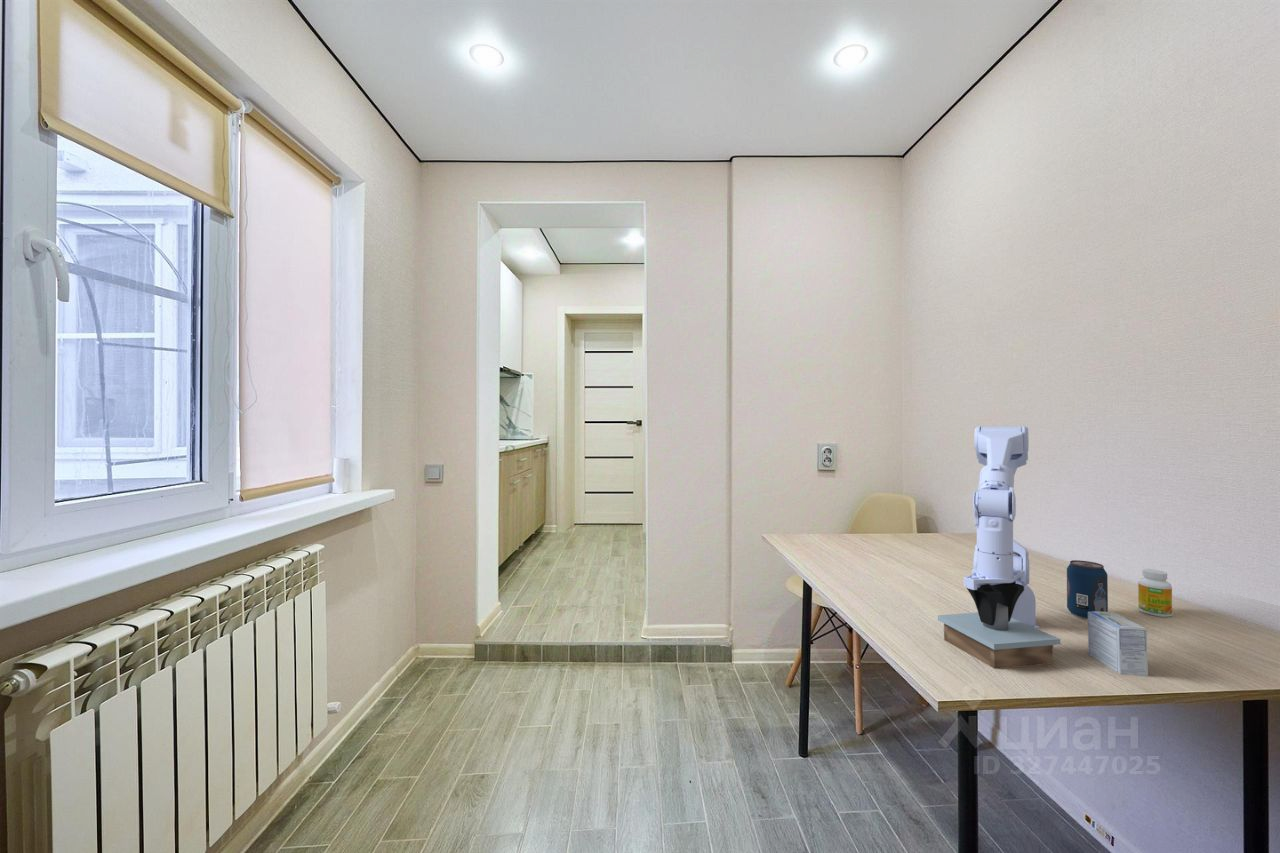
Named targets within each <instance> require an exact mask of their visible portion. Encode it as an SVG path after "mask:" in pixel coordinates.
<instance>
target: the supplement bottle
mask: <svg viewBox="0 0 1280 853" xmlns="http://www.w3.org/2000/svg"><path fill="white" fill-rule="evenodd" d="M1141 575H1142V576H1143V577H1141V578H1139V579H1138V583H1137V584H1138V586H1137V587H1138V590H1137V591H1138V594H1137V595H1138V597H1137V598H1138V600H1137V601H1138V602H1137V603H1138V610H1139V611H1140V612H1142V613H1143V614H1144V613H1145V614H1146V615H1147V614H1148V615H1151V616H1154V617H1161V618H1162V617H1163V618H1168V617H1172V615H1173V586H1172V584H1171V583H1170V582H1169V581H1167V580H1168V572H1166V571H1163V570H1159V569H1152V568H1143V569H1142V572H1141Z"/></svg>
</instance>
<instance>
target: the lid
mask: <svg viewBox="0 0 1280 853" xmlns="http://www.w3.org/2000/svg"><path fill="white" fill-rule="evenodd" d="M937 621H938V622H940V623H943V625H944V624H946V625H948V626H950V627H952V628H954V629H956V630H958V631H959V632H961V633H963V634H965V635H967V636H969V637H971V638H973V639H975V640H976V641H978V642H980V643H982V644H984V645H986V646H988V647H990V648H992V649H993V650H998V649H1011V648H1023V647H1035V646H1048V645H1053V646H1058V645H1061V638H1059V637H1057V636H1055V635H1052V634H1050V633H1048V632H1045V631H1043V630H1041V629H1040V628H1034V627H1032V626H1029V625H1027V624H1025V623H1023V622H1020V621H1018V620H1016V619H1013V618H1011V620H1010V622H1008V607H1007V606H1005V605H1003V604H999V603H997V607H996V617H995V623H994V625H992V626H991V625H988V624H985V623H983V622H981V620H980V617H979V613H978V611H977V612H968V613H967V612H964V613H951V614H950V613H949V614H938V615H937Z"/></svg>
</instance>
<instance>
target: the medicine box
mask: <svg viewBox="0 0 1280 853" xmlns="http://www.w3.org/2000/svg"><path fill="white" fill-rule="evenodd" d="M1147 630H1148V629H1147V628H1146V627H1144V626H1141V625H1140V624H1138V623H1136V622H1134V621H1132V620H1130V619H1128V618H1126V617H1124V616H1122V615H1119V614H1117V613H1116V612H1112V611H1108V612H1100V611H1092V612H1088V620H1087V633H1088V634H1087V635H1088V636H1087V639H1088V641H1087V642H1088V644H1087V645H1088V654H1089V655H1090V656H1091V657H1092V658H1095V659H1096V660H1098V662H1100V663H1102V664H1104V665H1105V666H1107V667H1108V668H1109V669H1111V670H1113V671H1115V672H1116V673H1118V674H1119V675H1126V676H1127V675H1128V676H1139V677H1149V661H1148V633H1147V632H1148V631H1147Z"/></svg>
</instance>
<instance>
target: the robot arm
mask: <svg viewBox="0 0 1280 853" xmlns="http://www.w3.org/2000/svg"><path fill="white" fill-rule="evenodd" d="M973 434H974V436H973V439H974V440H973V443H974V445H973V446H974V450H975V454H976V456H975V457H976V459H977V460H978V464H981V465H983V467H982V468H981V469H980V471H979V478H978V485H977V491H976V490H974V491H973V495H972V510H973V515H974V526H975V527H976V544H975V546H974V552H973V562H972V564H973V565H972V566H973V568H972V569H971V574H969V575H967V576H964V577H963V587H964V588H966V590H968V593H969V594H970V596H971V598H972V599H973V602H974V604H975V606H976V607H975V608H976V611H977V612H978V613H979V617H980V620H981V622H983V623H985V624H988V625H991V626H992V625H994V623H995V617H996V607H997V603H999V604H1003V605H1005V606H1007V607H1008V622H1010V620H1011V618H1013V619H1016V620H1018V621H1020V622H1023V623H1025V624H1027V625H1029V626H1032V627H1034V628H1036V629H1040V626H1039V625H1037V624H1036V623H1037V622H1036V620H1037V619H1036V618H1037V617H1036V614H1037V613H1036V609H1037V608H1036V607H1037V603H1036V595H1035V594H1034V591H1033V590H1032V588H1031V587H1030V586H1028V585H1029V584H1030V558H1029V552H1028V550H1027V548H1026V547H1024V546H1023V545H1022V544H1020V543H1019V542H1017V541H1016V540H1015V539H1014V521H1015V518H1016V514H1017V504H1016V503H1017V501H1016V500H1017V499H1016V498H1017V497H1016V494H1015V489H1014V488H1015V487H1014V486H1015V474H1016V472H1017V469H1018V468H1020V467H1023V466H1025V465H1027V461H1028V460H1029V428H1028V427H1027V426H1026V425H1022V426H1020V425H1019V426H1015V425H1014V426H981V425H978V426H976V427H975V429H974V433H973Z"/></svg>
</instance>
